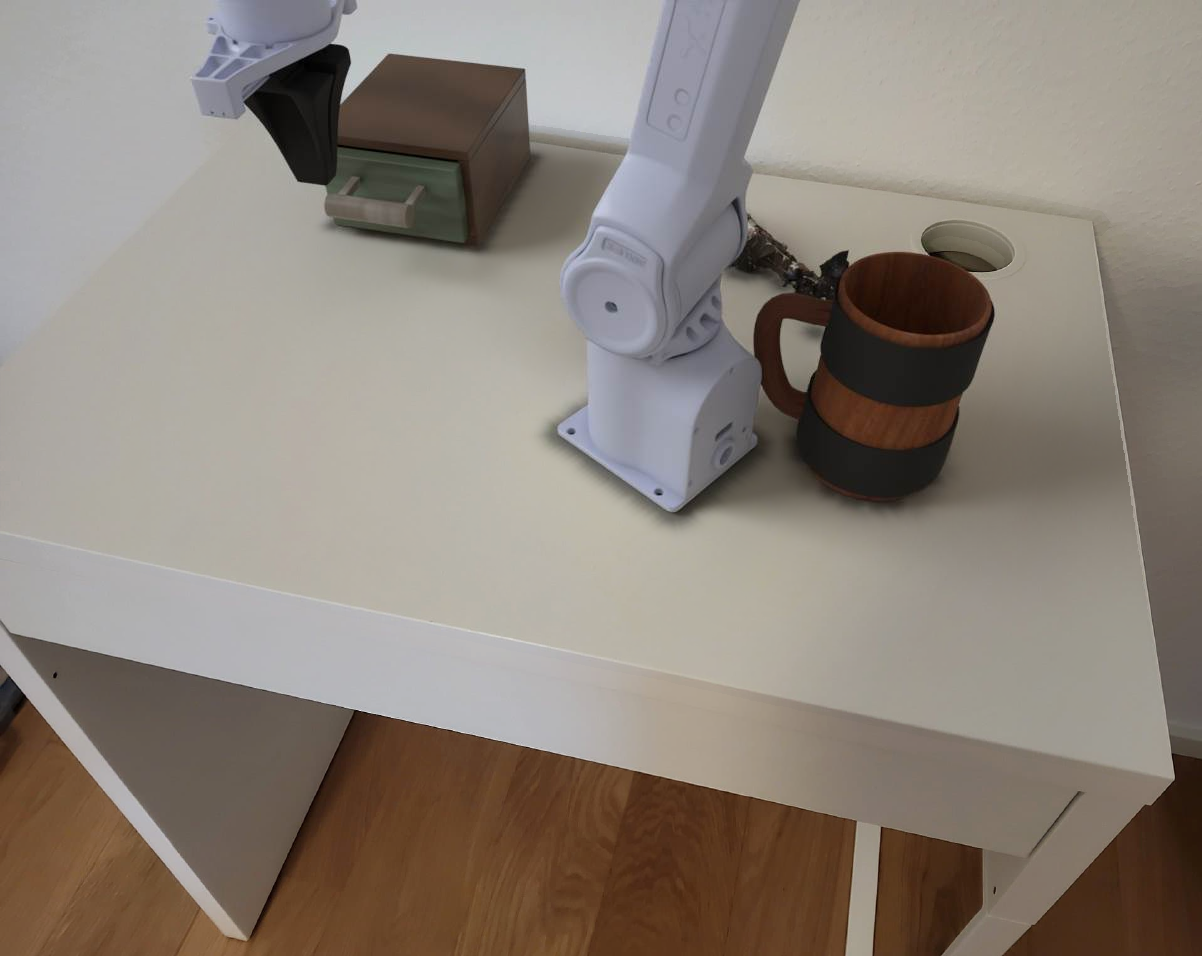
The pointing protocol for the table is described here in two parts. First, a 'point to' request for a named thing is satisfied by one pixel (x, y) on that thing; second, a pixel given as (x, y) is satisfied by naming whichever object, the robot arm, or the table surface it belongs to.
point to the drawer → (398, 194)
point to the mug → (880, 371)
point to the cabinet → (446, 124)
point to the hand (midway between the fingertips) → (316, 178)
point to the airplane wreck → (789, 264)
